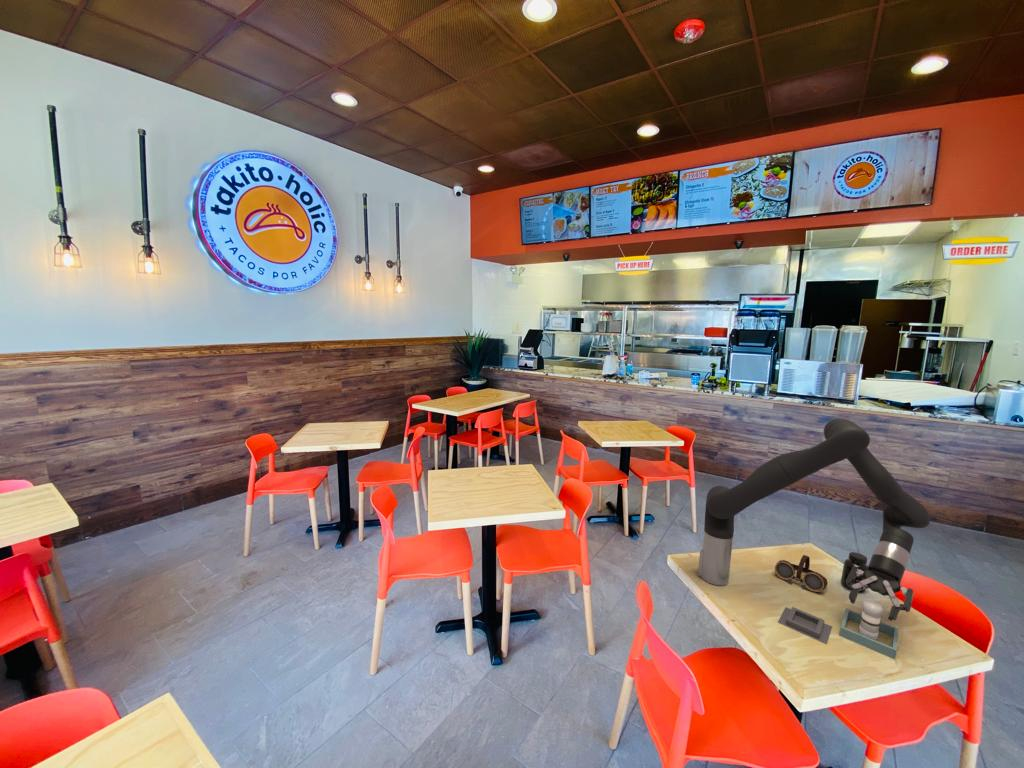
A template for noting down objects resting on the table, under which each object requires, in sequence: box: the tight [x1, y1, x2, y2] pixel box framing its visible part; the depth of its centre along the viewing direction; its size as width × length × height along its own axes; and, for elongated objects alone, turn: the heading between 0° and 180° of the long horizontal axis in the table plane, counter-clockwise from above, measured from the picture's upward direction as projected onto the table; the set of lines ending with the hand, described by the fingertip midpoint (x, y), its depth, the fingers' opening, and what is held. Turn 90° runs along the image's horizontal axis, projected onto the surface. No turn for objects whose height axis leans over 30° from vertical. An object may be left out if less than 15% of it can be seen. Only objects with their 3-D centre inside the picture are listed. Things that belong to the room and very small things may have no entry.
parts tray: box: [839, 608, 900, 660], centre depth 121 cm, size 12×12×4 cm
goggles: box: [774, 554, 828, 593], centre depth 149 cm, size 15×13×10 cm
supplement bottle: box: [840, 551, 868, 594], centre depth 144 cm, size 7×7×12 cm
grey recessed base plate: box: [777, 606, 833, 645], centre depth 125 cm, size 12×10×2 cm
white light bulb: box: [858, 599, 884, 641], centre depth 120 cm, size 4×4×10 cm
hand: (870, 610), depth 119 cm, fingers open, 8 cm apart
